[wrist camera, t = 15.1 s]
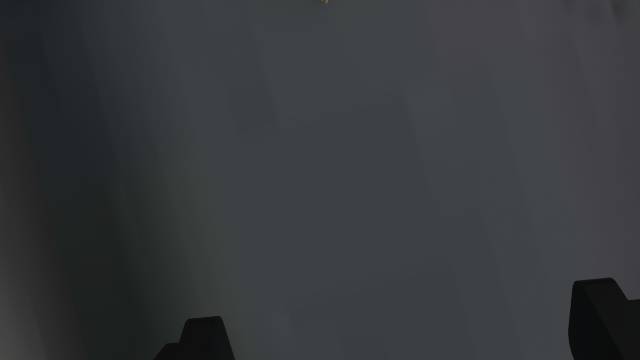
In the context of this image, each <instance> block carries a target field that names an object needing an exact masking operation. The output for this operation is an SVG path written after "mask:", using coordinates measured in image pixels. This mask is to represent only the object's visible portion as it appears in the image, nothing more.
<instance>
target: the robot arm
mask: <svg viewBox="0 0 640 360" xmlns="http://www.w3.org/2000/svg"><path fill="white" fill-rule="evenodd" d="M568 337H569V344H570V349H571V352H572V355H573V358H574V360H640V299H637V300H628V299H627V298H626V296H625V295H624V293H623V292H622V290H621V289H620V287H619V286H618V284H617V283H616V281H615V280H614V279H612V278H601V279H590V280H580V281H575V282H574V284H573V288H572V298H571V308H570V318H569V328H568ZM154 360H235V358H234V355H233V352H232V349H231V345H230V342H229V339H228V336H227V333H226V329H225V326H224V323H223V320H222V318H221V317H220V316H214V317H203V318H193V319H188V320H187V321H186V322H185V325H184V328H183V331H182V334H181V338H180V341H179V343H169V344H166V345H165V346H164V347H163V348H162V350H161V351H160V352H159V353H158V355H157V356H156V357H155V358H154Z"/></svg>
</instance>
